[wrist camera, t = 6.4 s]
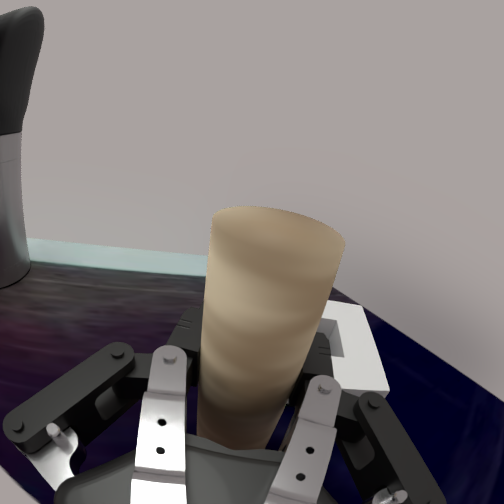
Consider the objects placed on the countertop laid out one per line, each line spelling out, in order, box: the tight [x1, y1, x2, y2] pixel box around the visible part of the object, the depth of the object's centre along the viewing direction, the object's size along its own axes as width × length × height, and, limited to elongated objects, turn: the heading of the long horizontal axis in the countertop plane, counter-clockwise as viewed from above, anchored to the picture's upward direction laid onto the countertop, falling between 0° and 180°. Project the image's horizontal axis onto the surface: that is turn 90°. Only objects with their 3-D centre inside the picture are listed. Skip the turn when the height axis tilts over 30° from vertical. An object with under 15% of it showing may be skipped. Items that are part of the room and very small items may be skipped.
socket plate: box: [287, 300, 390, 404], centre depth 23 cm, size 12×12×2 cm
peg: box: [197, 206, 345, 450], centre depth 11 cm, size 4×4×14 cm
